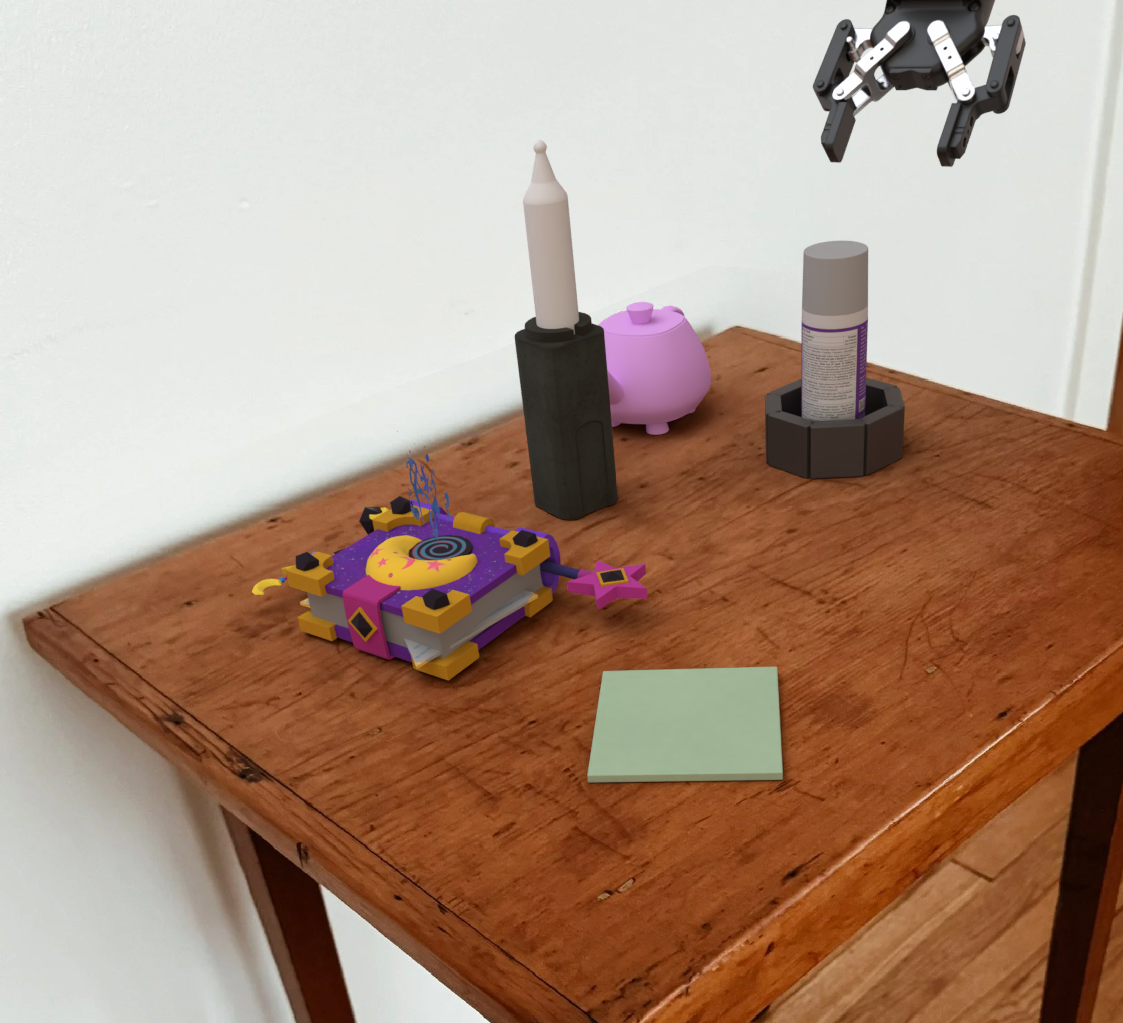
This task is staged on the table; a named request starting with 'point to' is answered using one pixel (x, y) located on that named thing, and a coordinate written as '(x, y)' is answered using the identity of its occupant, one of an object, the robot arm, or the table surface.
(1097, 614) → the table surface
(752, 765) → the mat
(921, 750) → the table surface
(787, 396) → the ring
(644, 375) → the teapot
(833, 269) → the container
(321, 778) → the table surface
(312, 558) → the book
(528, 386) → the candle
